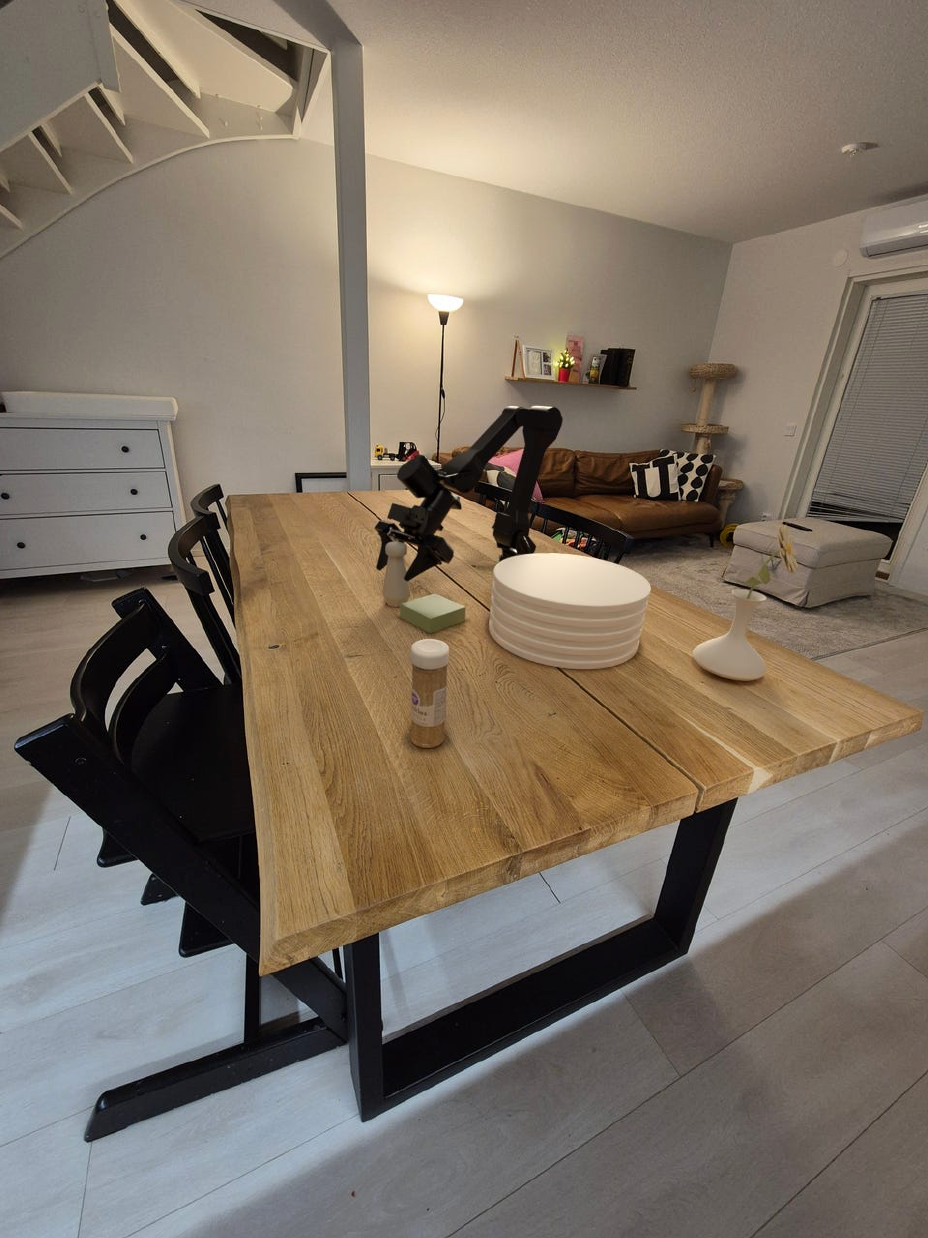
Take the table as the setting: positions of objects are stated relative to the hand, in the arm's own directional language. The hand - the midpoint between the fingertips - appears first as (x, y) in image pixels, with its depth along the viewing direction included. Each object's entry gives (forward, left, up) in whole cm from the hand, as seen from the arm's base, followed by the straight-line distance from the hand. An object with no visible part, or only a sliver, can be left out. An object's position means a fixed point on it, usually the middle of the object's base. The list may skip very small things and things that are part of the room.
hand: (391, 574), depth 101 cm
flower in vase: (-61, +20, -7) cm, 64 cm away
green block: (-9, +6, -7) cm, 13 cm away
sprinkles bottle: (-11, +43, -7) cm, 45 cm away
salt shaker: (-1, -1, -7) cm, 7 cm away
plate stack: (-34, +9, -7) cm, 36 cm away
